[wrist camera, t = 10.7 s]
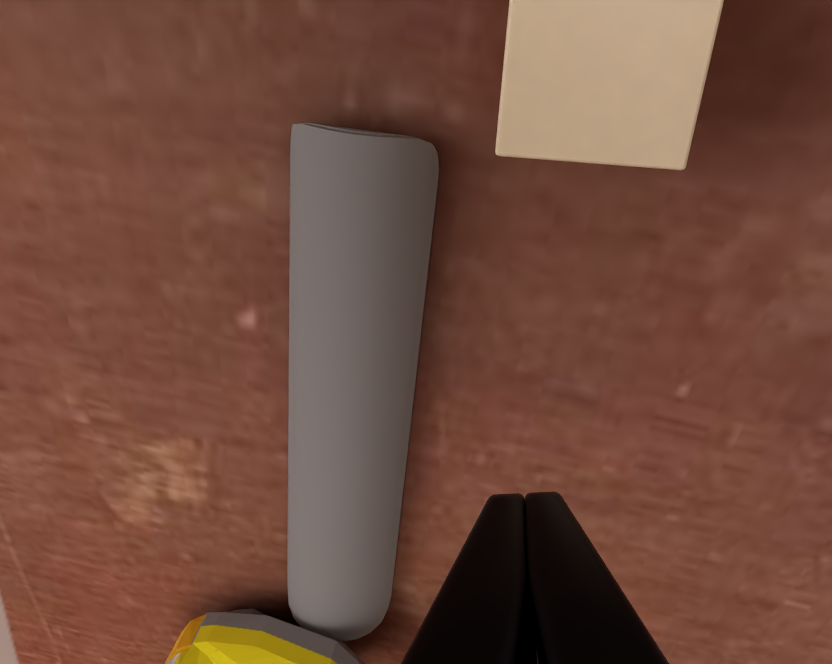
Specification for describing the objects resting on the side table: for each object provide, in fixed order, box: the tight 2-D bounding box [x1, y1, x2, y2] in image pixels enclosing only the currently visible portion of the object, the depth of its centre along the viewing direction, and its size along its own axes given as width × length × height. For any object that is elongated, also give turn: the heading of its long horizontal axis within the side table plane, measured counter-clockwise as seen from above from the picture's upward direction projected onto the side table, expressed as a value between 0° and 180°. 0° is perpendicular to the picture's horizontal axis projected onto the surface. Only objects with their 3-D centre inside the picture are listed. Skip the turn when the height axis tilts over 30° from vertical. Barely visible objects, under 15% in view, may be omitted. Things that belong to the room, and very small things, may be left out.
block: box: [495, 0, 724, 170], centre depth 16 cm, size 4×4×4 cm
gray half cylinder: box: [287, 122, 439, 641], centre depth 23 cm, size 4×20×2 cm, turn 175°
